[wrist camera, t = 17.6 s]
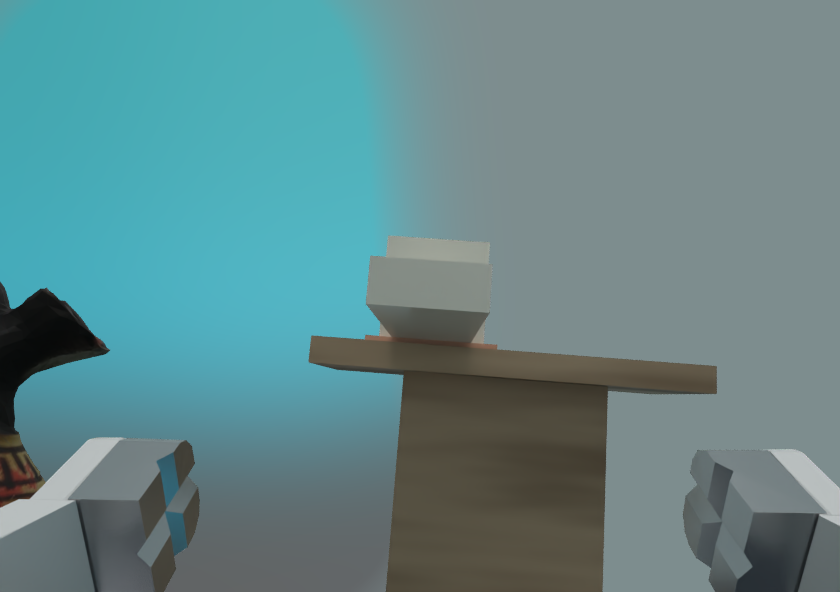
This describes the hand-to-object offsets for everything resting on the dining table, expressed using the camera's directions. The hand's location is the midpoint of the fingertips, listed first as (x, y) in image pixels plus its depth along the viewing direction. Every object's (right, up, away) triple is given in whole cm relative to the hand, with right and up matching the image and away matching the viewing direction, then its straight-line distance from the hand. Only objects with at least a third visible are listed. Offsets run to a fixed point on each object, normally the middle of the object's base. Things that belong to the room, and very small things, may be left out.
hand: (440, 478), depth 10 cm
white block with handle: (0, +2, +12) cm, 12 cm away
